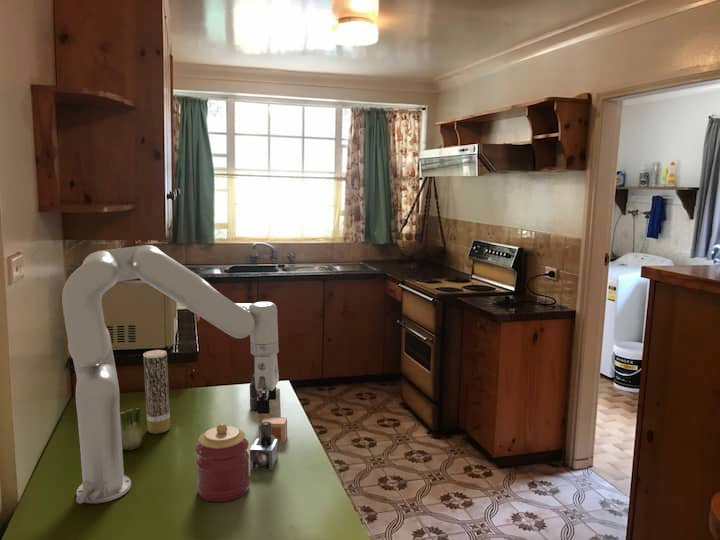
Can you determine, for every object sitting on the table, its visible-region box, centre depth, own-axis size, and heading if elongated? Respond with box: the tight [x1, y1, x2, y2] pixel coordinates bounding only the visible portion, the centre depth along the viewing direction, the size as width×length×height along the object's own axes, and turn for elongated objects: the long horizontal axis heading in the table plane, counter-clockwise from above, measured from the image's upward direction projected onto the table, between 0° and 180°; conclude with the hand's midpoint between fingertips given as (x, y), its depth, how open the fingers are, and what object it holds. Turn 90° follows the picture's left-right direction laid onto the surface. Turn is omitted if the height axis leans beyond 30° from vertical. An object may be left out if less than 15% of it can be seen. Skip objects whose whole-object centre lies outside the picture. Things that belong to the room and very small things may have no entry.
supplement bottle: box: [249, 373, 264, 413], centre depth 198 cm, size 7×7×12 cm
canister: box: [195, 422, 251, 503], centre depth 145 cm, size 13×13×18 cm
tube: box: [255, 422, 276, 466], centre depth 162 cm, size 12×4×10 cm, turn 178°
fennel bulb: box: [120, 407, 143, 451], centre depth 168 cm, size 6×5×12 cm
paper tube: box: [143, 349, 171, 435], centre depth 180 cm, size 7×7×25 cm
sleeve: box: [249, 438, 279, 471], centre depth 160 cm, size 8×6×6 cm
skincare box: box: [257, 386, 282, 428], centre depth 184 cm, size 6×4×12 cm
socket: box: [262, 417, 288, 444], centre depth 175 cm, size 4×7×6 cm, turn 88°
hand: (267, 406), depth 161 cm, fingers open, 9 cm apart
